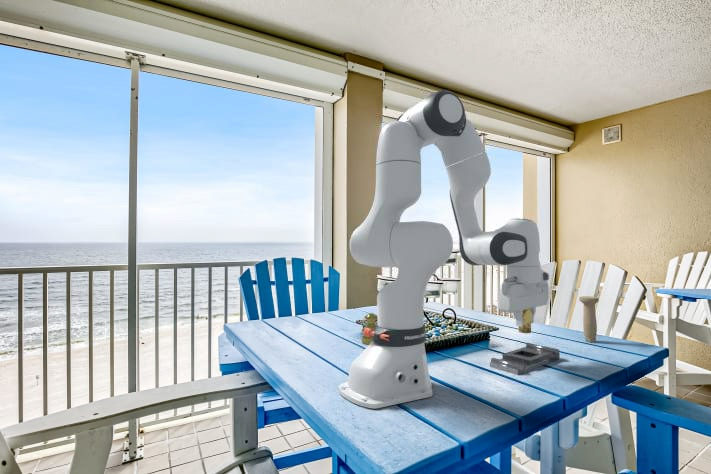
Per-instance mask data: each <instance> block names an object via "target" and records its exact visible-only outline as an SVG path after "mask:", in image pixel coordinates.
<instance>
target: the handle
mask: <svg viewBox="0 0 711 474" xmlns="http://www.w3.org/2000/svg"><path fill="white" fill-rule="evenodd" d="M599 300H600V299H599V296H591V295H589V296H587V295H585V296H579V297H578V301H579V302H580V303H582V304H583V314H582V315H583V318H582V324H583V325H582V327H583V334H584V341H585V342H587V343H596V342H597V333H598V325H597V323H598V322H597V315H596V304H597V303H598V302H600V301H599Z"/></svg>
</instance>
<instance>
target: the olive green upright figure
mask: <svg viewBox="0 0 711 474" xmlns="http://www.w3.org/2000/svg"><path fill="white" fill-rule="evenodd" d="M363 317H364V319H365V320H366V321H367V324H366V325H365V326H364V327H362V328H361V330H360V331H361V336H360V338H361V340H360V341H361V343H362V344H364V345H369V344H370V343H371V342H372V337H371V338H370V337H366V336H364V334H365V333H363V332H364V329H365V328H369V329H373V330H375V327H376V325H377V323H376V321H377V314H375V313H374V312H369V313H368V314H366V315H364V316H363Z"/></svg>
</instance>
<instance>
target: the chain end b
mask: <svg viewBox="0 0 711 474" xmlns="http://www.w3.org/2000/svg"><path fill="white" fill-rule="evenodd" d="M520 355H526V356H530V358H529V357H524V356H520ZM560 355H561V354H560V349H559V348H556V347H555V348H554V347H549V346H544V345H540V344H535V343H530V342H526V344H525V346H524V347H521V348H518V349H514V350H510V351H508V352H504V353H502V358H504V359H507V360H511V361H515V362H519V363H523V364H527V365H532V364H535V363H538V362H541V361H543V360H546V359H549V363H550V364H551V363H552V362H554V361H557V360H560V359H561V358H560V357H561V356H560ZM549 363H548V364H549Z"/></svg>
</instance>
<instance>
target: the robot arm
mask: <svg viewBox="0 0 711 474" xmlns="http://www.w3.org/2000/svg"><path fill="white" fill-rule="evenodd" d="M378 136H379V137H378V142H377V147H376V157H375V161H376V162H375V193H374V199H373V202H372V206H371V209H370V210H369V213H368V215H367V216H366V218H365V219H364V221H363V222H362V223H361V224H360V225H359V226H358V227H357V228H355V230H353V232H352V234H351V235H350V239H349V252H350V255H351V257H352V258H353V260H354V261H355V262H356V263H358V264H360V265H363V266H367V267H373V268H398V271H397V272H398V273H397V276H396V278H395V280H392V281H391V282H389V283H387V284H385V285H384V286H382V287H381V289H380V290H379V292H378V293H377V296H376V308H377V309H376V310H377V311H376V312H377V314H376V315H377V320H376V321H377V323H376V327H375V330H373V329H369V328H365V329H364V332H363V333H365V334H364V336H366V337H370V338H371V337H372V342H371V343H370V344H367V346H366V347H365V349H364V350H363V351H361V353H360V354H359V355H358V356H357V357H356V358H355V359H354V360H352V362H351V363H350V367H349V372H348V379H347V380H348V381H345V382H343V383H341V384H340V383H339V385H338V393H339V394H340V396H342V397H343V398H344V399H346V400H347V401H349V402H351V403H353V404H356V405H357V406H361V407H363V408H369V409H380V408H385V407H389V406H395V405H398V404H399V405H400V404H403V403H407V402H412V401H413V402H414V401H416V400H417V401H418V400H421V399H426V398H430V397H432V396H433V395H434V394H433V389H432V387H433V384H432V381H431V376H430V374H429V373H430V372H429V366H428V358H427V354H426V346H425V342H426V340H427V338H426V337H427V331H426V325H425V323H424V309H425V308H424V305H425V303H424V302H425V293H426V289H427V285H428V284H429V281H430V280H431V278H432V276H433V275H434V274H435V272H437V270H438V269H439V268H441V267H442V266H443V265H444V264H446V263H447V262H448V260H449V259H450V257H451V256H452V253H453V248H454V241H453V237H452V234H451V232H450V230H449V229H448V228H447V226H445V224H443V223H438V222H434V221H425V220H419V221H417V220H416V221H400V220H401V217H402V215H403V213H404V212H405V211H406V210H407V209H408V208H410V207H412V206H413V205H415V204H416V203H417V202H418V200H419V199H420V198H421V195H422V159H421V158H422V157H421V155H422V154H421V151H422V149H423V148H425V147H427V146H430V145H433V146H435V147H436V148H437V149H438V150H439V151H440V153H441V157H442V161H443V164H444V168H445V170H446V173H447V176H448V181H449V199H450V202H451V208H452V213H453V215H454V216H453V217H454V220H455V224H456V228H457V232H458V239H459V240H458V241H459V242H458V243H459V244H458V246H459V247H458V248H459V252H460V257H461V258H462V260H463V261H464V262H465V263H467V264H468V265H470V266H497V267H498V266H500V267H502V266H506V278H504V280H503V282H502V283H501V286H500V288H499V294H498V295H499V296H498V308H499V310H500V311H499V312H502V313H506V314H513V316H514V318H515V322H516V326H517V327H519V326H524V325H525V320H524V319H523V317H522V314H523V310H526V309H531V325H532V324H534V322H535V321H534V318H535V315H536V312H537V311H536V310H537V308H539V307H543V306H546V305H548V302H549V297H550V296H549V293H550V292H549V282H548V281H550V274H549V273H548V272H547V271H545V270H543V269H541V268H542V265H541V261H540V258H539V257H540V252H541V241H540V233H539V228H538V225H537V222H535V221H533V220H531V219H527V218H511V219H508V221H507V223H505V224H504V225H503V226H501V227H499V228H498V229H494V230H492V231H483V230H482V229H481V227H480V225H479V222H478V218H477V213H476V209H475V199H476V196H477V194H478V193H479V192H480V191H481V190H482V189H483V188H485V185H487V184H488V182H489V179H490V177H491V175H492V171H491V169H492V167H491V162H490V159H489V156H488V154H487V151H486V148H485V146H484V143H483V141H482V139H481V137H480V135H479V133H478V131H477V129H476V127H475V126H474V125H473V122H471V121H470V119H467V115H466V109H465V107H464V105H463V102H462V100H461V98H459V96H458V95H456V94H455V93H454V92H452V91H450V90H448V89H443V90H438V91H436V92H433V93H430V94H429V95H428V96H427V97H426V98H423V99H421V100H419V102H416V103H414V104H413V105H411V106H410V107H409V108H408V109H407V110H406V111H405V112H403V113H402V114H401V115H400V116H399V117H398V118H397V119H396V121H391V122H388V123H387V124H385V125H384V126H383V127H382V128H381V130H380V132H379V135H378Z"/></svg>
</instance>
